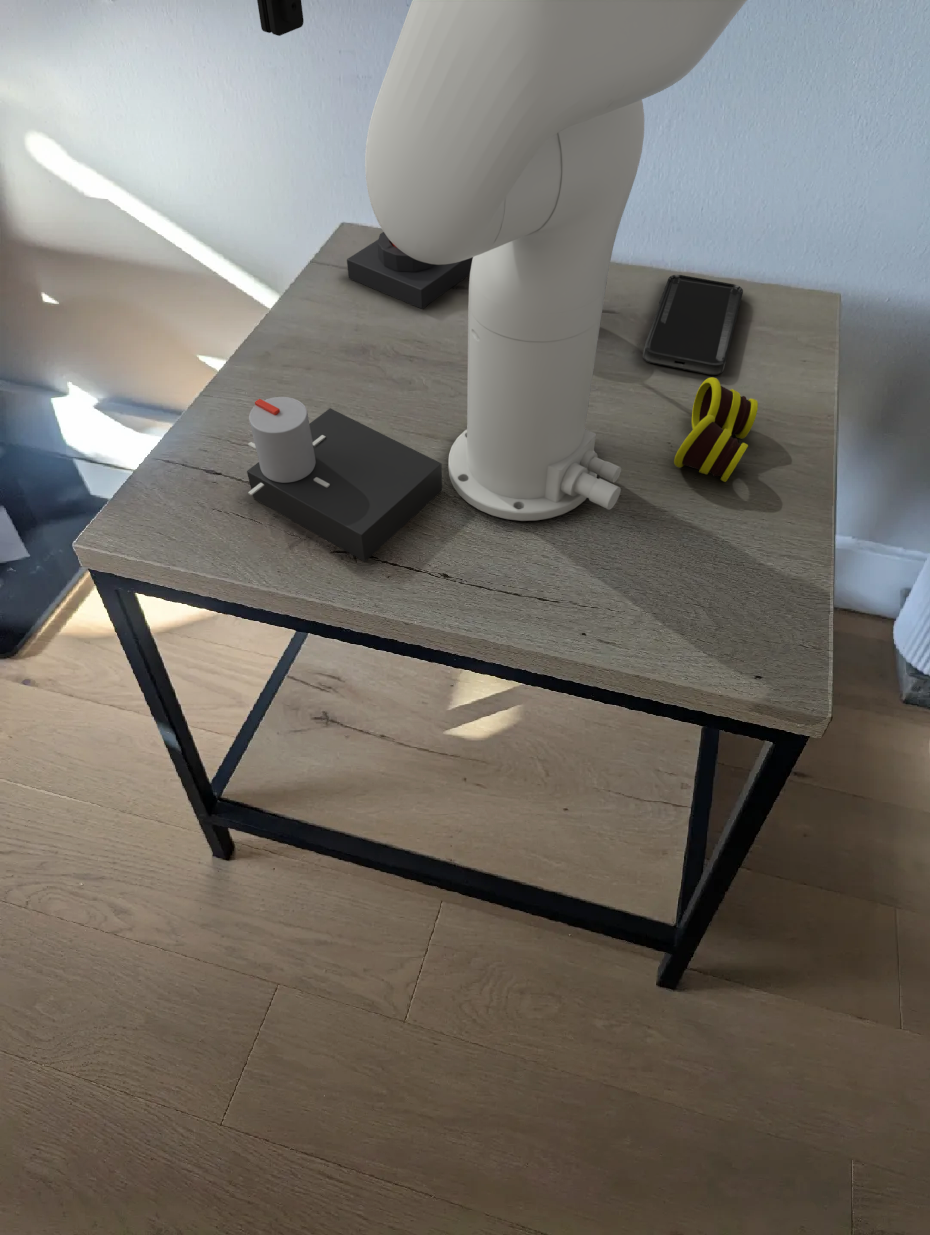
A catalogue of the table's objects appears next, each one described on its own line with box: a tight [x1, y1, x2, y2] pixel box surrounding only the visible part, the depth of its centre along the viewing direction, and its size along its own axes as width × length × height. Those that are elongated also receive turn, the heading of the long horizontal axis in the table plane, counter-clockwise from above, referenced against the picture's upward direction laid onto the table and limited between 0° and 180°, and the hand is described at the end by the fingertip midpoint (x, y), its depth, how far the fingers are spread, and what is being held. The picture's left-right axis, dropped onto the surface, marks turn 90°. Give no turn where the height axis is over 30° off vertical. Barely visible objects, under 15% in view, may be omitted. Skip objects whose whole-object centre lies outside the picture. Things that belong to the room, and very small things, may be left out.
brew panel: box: [246, 407, 443, 563], centre depth 70 cm, size 14×12×3 cm
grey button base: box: [346, 231, 473, 310], centre depth 92 cm, size 10×9×4 cm
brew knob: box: [248, 396, 316, 483], centre depth 67 cm, size 4×4×5 cm
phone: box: [642, 274, 744, 376], centre depth 87 cm, size 8×1×15 cm
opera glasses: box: [673, 376, 759, 483], centre depth 74 cm, size 10×5×5 cm, turn 159°
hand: (283, 28), depth 69 cm, fingers closed
